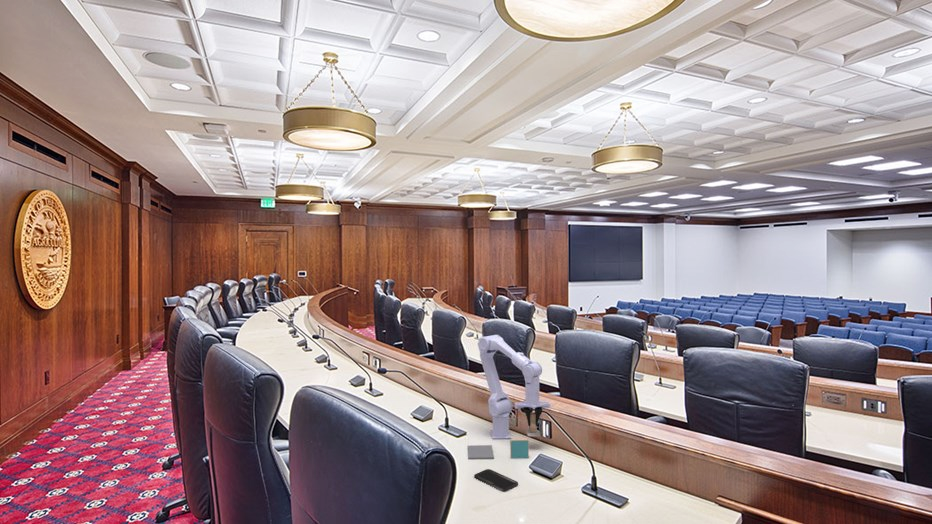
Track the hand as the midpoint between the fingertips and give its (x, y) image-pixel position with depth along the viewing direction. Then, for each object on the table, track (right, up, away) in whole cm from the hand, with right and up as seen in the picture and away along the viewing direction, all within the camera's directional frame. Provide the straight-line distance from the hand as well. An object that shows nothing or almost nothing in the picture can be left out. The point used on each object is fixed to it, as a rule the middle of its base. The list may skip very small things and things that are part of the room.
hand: (532, 425), depth 185 cm
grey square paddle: (0, -3, -1) cm, 3 cm away
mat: (-22, -9, -6) cm, 24 cm away
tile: (-7, -9, -10) cm, 15 cm away
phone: (-17, -9, -30) cm, 35 cm away
